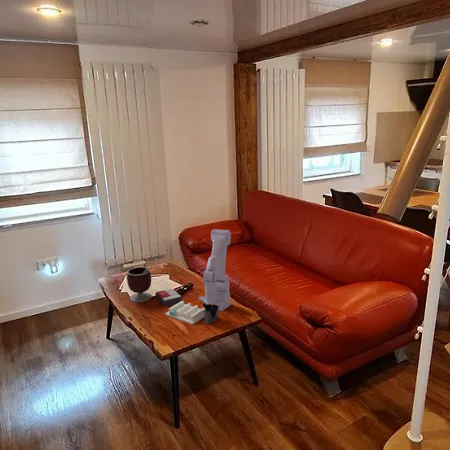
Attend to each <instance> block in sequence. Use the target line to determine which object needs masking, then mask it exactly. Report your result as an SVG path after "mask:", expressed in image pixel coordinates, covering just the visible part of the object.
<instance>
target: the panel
mask: <svg viewBox="0 0 450 450" xmlns="http://www.w3.org/2000/svg"><path fill="white" fill-rule="evenodd" d="M219 316H220V315H219V310H218V309H217V312H216V316H215V317H214V318H212V311H211V308H208V309H207V310H205V311H204V317H203V318H204V324H205V325H210V324H211V323H213V322H214V321H216V320H217V319H219Z"/></svg>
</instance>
